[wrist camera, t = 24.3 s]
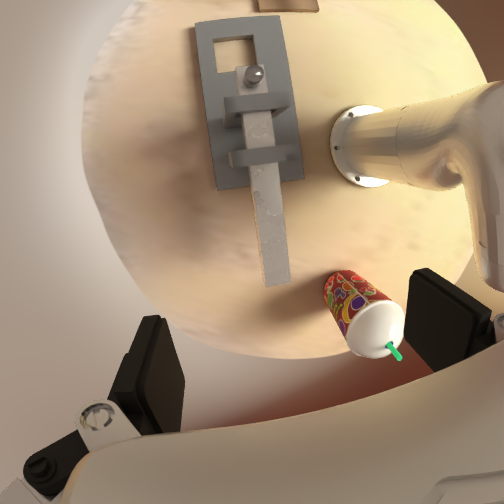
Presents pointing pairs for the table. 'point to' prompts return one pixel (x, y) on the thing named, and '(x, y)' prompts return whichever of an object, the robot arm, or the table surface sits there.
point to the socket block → (248, 101)
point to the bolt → (264, 181)
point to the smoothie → (364, 315)
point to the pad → (288, 5)
